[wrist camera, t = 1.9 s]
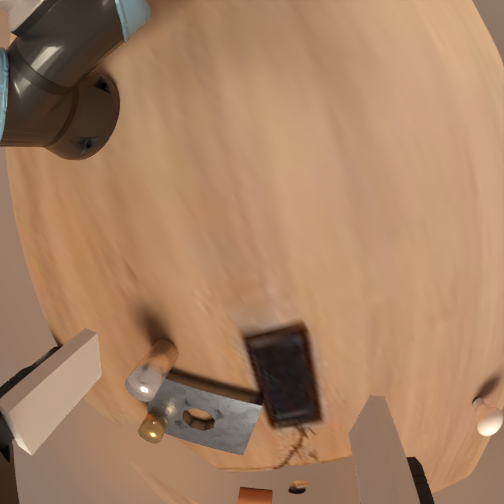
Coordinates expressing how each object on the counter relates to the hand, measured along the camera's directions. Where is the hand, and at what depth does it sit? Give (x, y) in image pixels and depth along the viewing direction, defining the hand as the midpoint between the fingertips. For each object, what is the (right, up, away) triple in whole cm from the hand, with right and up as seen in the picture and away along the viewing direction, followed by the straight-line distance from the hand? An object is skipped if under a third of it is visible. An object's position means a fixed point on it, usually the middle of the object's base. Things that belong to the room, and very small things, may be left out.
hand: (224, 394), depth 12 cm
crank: (+2, -60, +44) cm, 75 cm away
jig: (-8, -24, +36) cm, 44 cm away
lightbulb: (+51, -26, +30) cm, 65 cm away
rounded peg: (-13, -10, +34) cm, 38 cm away
